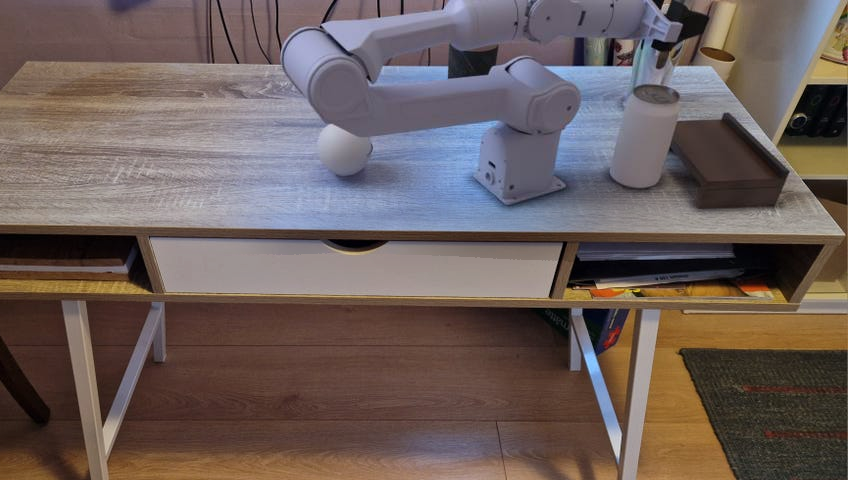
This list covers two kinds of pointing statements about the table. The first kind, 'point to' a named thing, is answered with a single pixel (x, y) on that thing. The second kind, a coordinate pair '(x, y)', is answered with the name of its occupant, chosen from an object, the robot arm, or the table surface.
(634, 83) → the beer glass
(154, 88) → the table surface
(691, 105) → the table surface
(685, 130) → the desk shelf
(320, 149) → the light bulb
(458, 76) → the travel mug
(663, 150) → the can
